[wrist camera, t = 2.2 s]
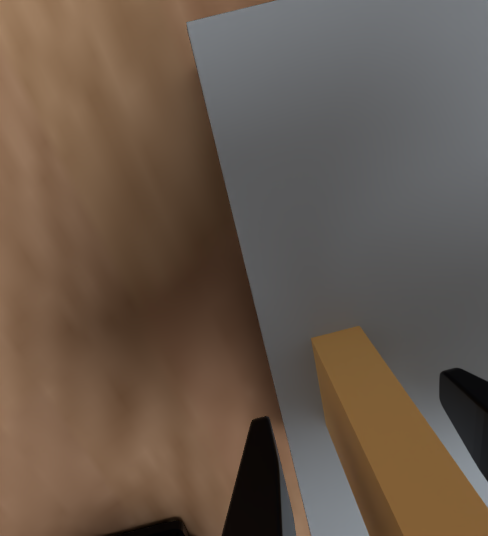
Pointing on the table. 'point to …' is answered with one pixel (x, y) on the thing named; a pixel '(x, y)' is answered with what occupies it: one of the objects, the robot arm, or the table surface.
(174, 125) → the table surface
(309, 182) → the lid
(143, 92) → the table surface
